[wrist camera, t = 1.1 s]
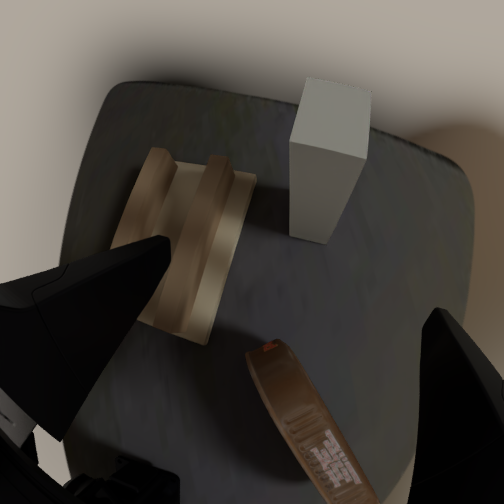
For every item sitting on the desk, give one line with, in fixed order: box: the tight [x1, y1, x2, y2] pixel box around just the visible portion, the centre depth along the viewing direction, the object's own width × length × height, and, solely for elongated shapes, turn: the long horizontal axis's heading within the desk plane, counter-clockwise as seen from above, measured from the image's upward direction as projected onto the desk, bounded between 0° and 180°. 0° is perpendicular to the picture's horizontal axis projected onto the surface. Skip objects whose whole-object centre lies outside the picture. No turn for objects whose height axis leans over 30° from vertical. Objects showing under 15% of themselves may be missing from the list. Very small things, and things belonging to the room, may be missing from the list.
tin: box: [245, 339, 380, 504], centre depth 15 cm, size 15×3×8 cm, turn 28°
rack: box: [110, 148, 257, 345], centre depth 21 cm, size 14×10×4 cm
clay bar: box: [289, 77, 371, 245], centre depth 16 cm, size 4×3×12 cm
